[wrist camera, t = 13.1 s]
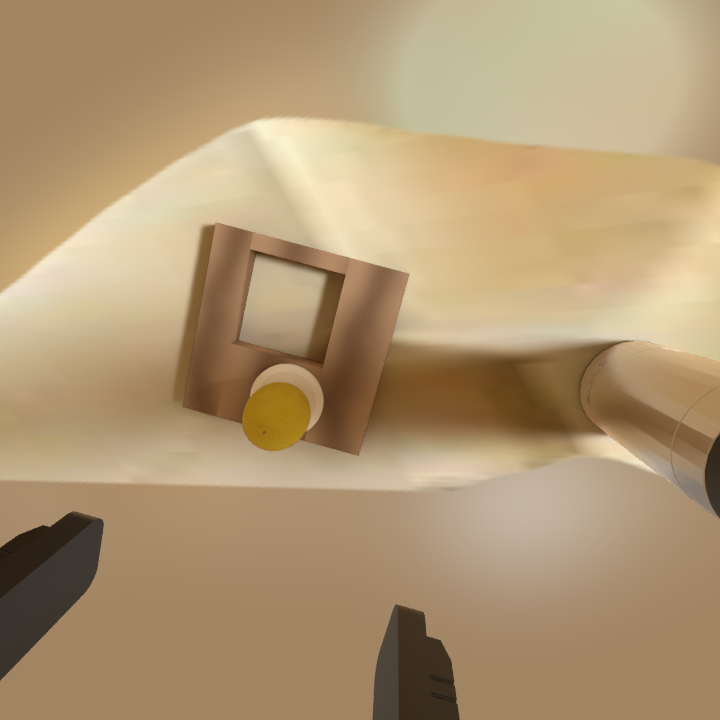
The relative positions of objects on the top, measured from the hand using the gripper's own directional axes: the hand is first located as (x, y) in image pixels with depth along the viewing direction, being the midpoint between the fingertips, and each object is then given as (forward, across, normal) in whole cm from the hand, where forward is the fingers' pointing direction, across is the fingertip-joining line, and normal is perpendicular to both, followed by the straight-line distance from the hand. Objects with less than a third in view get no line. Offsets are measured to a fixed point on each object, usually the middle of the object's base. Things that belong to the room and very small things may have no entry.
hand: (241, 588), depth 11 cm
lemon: (+29, +5, +5) cm, 30 cm away
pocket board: (+32, +6, 0) cm, 33 cm away
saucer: (+30, +5, +5) cm, 31 cm away
